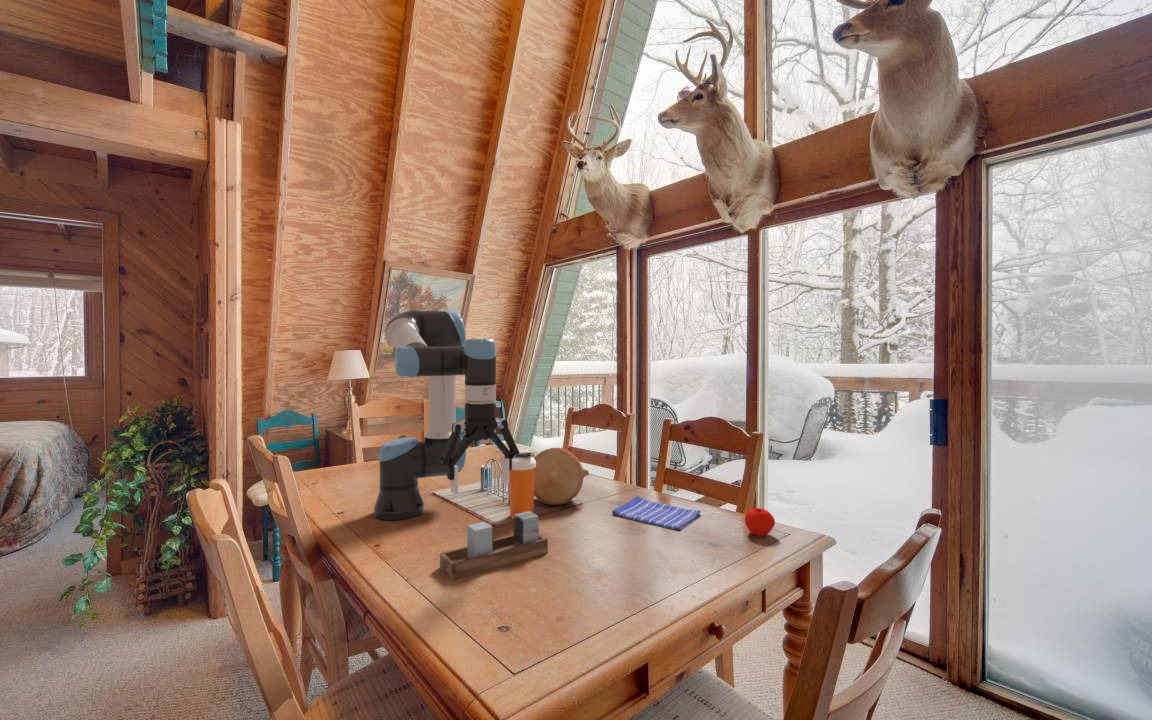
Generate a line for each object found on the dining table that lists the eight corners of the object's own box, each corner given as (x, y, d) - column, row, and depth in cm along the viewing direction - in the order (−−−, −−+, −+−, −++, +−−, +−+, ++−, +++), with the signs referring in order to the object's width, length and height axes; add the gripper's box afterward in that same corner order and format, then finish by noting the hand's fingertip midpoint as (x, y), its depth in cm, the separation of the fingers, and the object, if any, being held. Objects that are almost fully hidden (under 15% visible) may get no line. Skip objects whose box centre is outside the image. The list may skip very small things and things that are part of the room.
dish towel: (636, 502, 175) (636, 494, 175) (702, 516, 161) (702, 507, 161) (609, 516, 161) (609, 507, 161) (679, 533, 147) (679, 523, 147)
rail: (439, 567, 123) (439, 528, 123) (531, 542, 139) (531, 508, 138) (452, 579, 117) (452, 539, 116) (547, 552, 132) (547, 516, 132)
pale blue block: (467, 557, 125) (467, 525, 125) (486, 552, 128) (486, 521, 128) (475, 563, 122) (475, 530, 122) (494, 558, 125) (494, 526, 125)
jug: (512, 475, 164) (519, 464, 194) (548, 522, 163) (549, 504, 193) (562, 437, 166) (560, 432, 195) (597, 484, 165) (590, 471, 195)
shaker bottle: (531, 522, 154) (531, 456, 154) (503, 520, 156) (503, 455, 155) (539, 512, 163) (539, 450, 162) (512, 510, 165) (512, 449, 164)
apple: (778, 534, 145) (779, 508, 145) (767, 542, 139) (767, 515, 139) (751, 527, 150) (752, 502, 150) (739, 534, 145) (740, 508, 144)
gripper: (436, 407, 114) (437, 501, 115) (532, 400, 128) (532, 483, 129) (424, 403, 120) (425, 493, 121) (517, 397, 134) (517, 476, 135)
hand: (480, 488), depth 125 cm, fingers open, 13 cm apart
